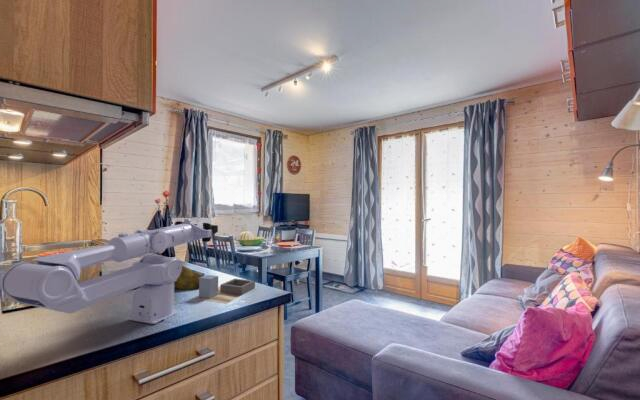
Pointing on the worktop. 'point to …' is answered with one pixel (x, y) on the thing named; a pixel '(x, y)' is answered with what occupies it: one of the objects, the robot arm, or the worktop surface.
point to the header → (237, 286)
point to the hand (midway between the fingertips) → (206, 228)
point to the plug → (208, 286)
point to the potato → (188, 279)
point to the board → (220, 297)
